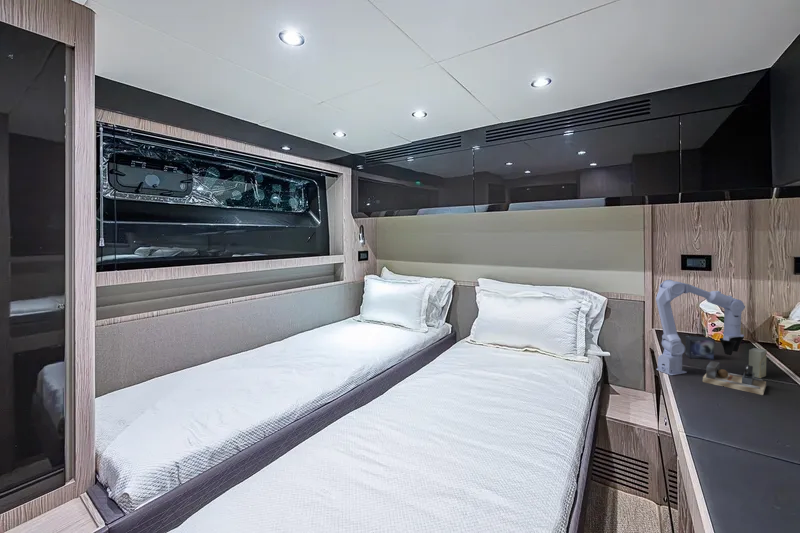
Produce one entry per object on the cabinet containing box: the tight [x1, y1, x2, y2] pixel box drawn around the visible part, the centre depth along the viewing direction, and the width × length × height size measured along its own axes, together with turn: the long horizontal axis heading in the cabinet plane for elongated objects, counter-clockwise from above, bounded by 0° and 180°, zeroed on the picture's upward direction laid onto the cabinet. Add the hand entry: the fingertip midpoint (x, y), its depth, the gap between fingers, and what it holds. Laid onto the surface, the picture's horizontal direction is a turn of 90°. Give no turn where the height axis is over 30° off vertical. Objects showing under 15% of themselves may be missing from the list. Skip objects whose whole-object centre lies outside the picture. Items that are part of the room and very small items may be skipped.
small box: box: [684, 335, 716, 361], centre depth 189 cm, size 11×6×10 cm, turn 69°
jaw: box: [742, 364, 756, 385], centre depth 152 cm, size 3×9×7 cm, turn 130°
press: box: [702, 360, 767, 396], centre depth 156 cm, size 19×12×7 cm, turn 40°
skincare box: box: [748, 347, 768, 379], centre depth 163 cm, size 6×4×12 cm
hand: (731, 352), depth 166 cm, fingers open, 7 cm apart
